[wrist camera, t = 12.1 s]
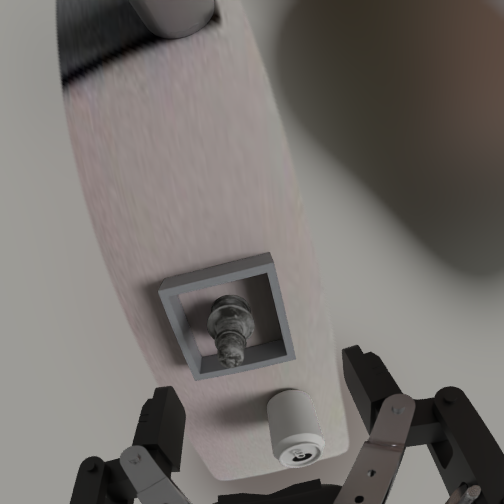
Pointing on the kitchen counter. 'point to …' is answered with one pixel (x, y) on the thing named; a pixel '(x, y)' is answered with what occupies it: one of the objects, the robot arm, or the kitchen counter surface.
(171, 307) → the bin
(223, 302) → the chess piece
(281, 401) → the can
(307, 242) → the kitchen counter surface
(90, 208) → the kitchen counter surface
